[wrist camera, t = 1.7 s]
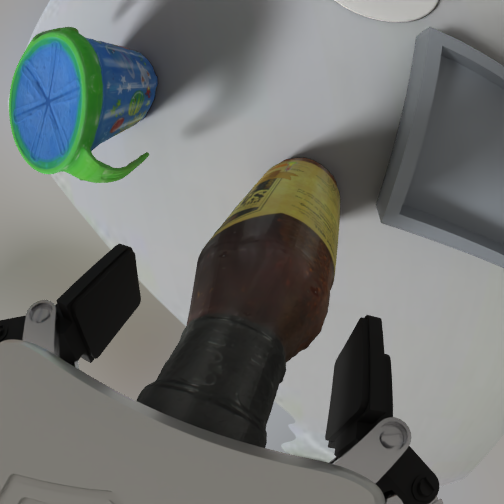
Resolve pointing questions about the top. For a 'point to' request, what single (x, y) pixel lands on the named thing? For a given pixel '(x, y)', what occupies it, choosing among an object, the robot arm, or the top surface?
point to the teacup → (390, 9)
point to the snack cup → (77, 102)
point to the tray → (450, 150)
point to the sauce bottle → (254, 304)
